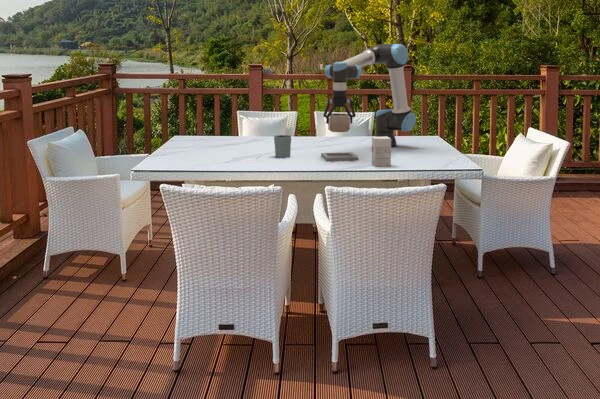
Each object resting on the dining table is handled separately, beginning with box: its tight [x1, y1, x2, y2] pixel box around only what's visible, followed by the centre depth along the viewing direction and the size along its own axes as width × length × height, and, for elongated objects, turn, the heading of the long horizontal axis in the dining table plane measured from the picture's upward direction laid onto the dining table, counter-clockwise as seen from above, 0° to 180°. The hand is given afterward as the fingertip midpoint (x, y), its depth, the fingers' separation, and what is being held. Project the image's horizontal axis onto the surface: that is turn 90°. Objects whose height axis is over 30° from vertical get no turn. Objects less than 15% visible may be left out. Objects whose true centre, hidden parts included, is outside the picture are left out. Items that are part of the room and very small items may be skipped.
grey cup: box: [273, 134, 292, 159], centre depth 416 cm, size 10×10×12 cm
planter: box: [329, 112, 350, 133], centre depth 406 cm, size 11×11×10 cm
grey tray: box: [320, 151, 359, 163], centre depth 408 cm, size 18×21×2 cm
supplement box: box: [371, 136, 392, 167], centre depth 386 cm, size 9×9×15 cm
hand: (339, 129), depth 406 cm, fingers closed on planter, 11 cm apart
